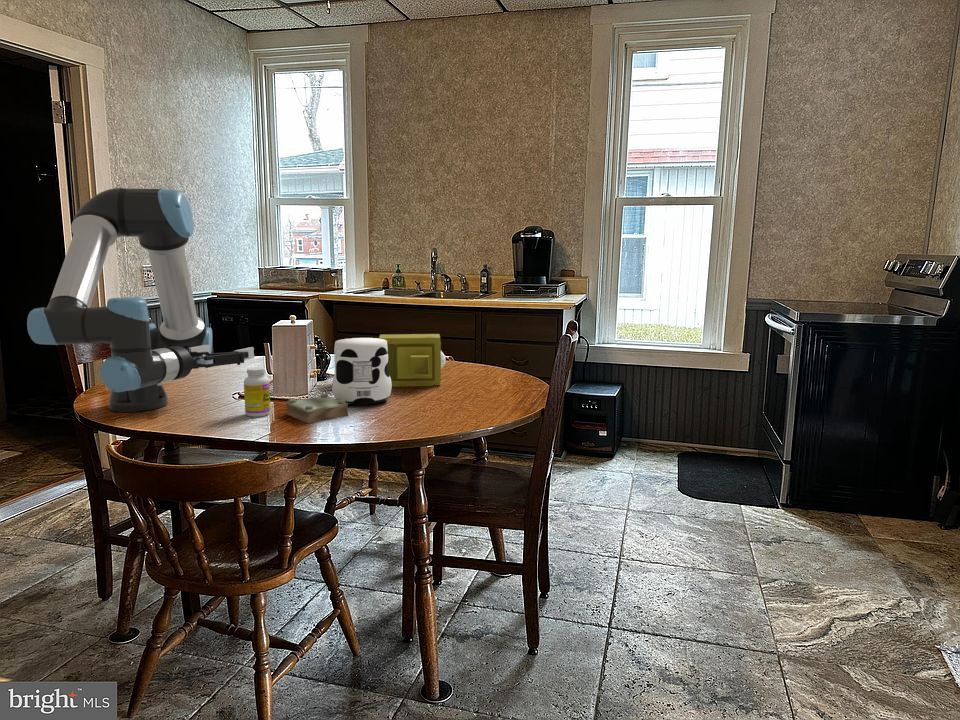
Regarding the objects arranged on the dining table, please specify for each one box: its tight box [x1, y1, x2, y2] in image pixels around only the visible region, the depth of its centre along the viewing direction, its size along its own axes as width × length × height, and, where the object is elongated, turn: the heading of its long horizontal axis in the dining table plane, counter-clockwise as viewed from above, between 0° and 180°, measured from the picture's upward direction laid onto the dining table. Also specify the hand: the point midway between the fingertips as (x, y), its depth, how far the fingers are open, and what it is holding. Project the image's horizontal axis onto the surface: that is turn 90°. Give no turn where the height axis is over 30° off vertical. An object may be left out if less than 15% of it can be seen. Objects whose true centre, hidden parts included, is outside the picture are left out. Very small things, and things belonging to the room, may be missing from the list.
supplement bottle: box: [243, 366, 272, 418], centre depth 185 cm, size 7×7×13 cm
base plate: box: [286, 393, 349, 424], centre depth 185 cm, size 12×12×4 cm
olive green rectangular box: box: [378, 333, 446, 388], centre depth 222 cm, size 35×16×16 cm
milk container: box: [331, 337, 392, 405], centre depth 200 cm, size 17×17×18 cm
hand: (230, 351), depth 173 cm, fingers open, 13 cm apart
